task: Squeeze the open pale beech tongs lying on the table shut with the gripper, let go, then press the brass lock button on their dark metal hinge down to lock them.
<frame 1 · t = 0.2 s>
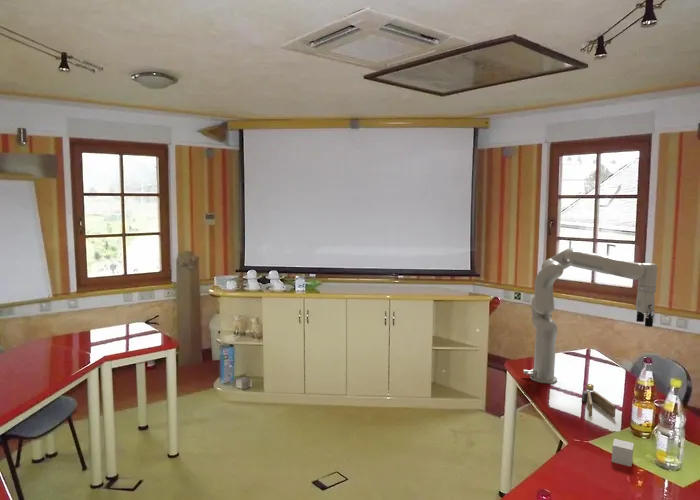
hand: (644, 324, 245), 31 cm above the table, tool pointing down, fingers open, 9 cm apart
grey cube: (622, 461, 175), on the table
tong arm 2: (603, 403, 217), point 3 cm above the table, hinge at 12.0°
lock button: (590, 387, 227), point 6 cm above the table, slide at 0.0 cm
tong hinge: (589, 401, 228), on the table
tong arm 1: (589, 402, 218), point 3 cm above the table, hinge at -12.0°
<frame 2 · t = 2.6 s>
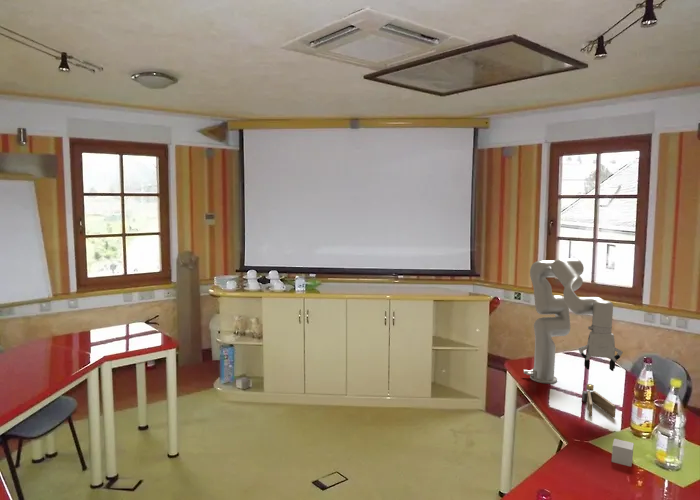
hand: (599, 369, 216), 18 cm above the table, tool pointing down, fingers open, 9 cm apart
nothing on the table moved.
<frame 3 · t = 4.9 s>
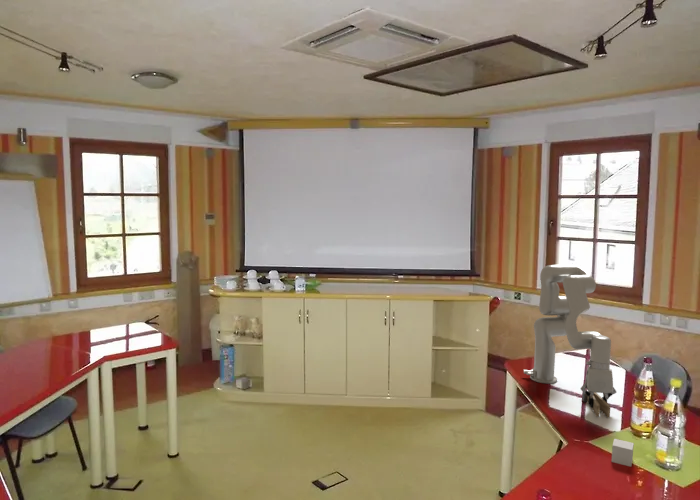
hand: (597, 406, 217), 2 cm above the table, tool pointing down, fingers open, 4 cm apart
tong arm 2: (600, 403, 217), point 3 cm above the table, hinge at 5.0°, touching gripper
tong arm 1: (593, 403, 218), point 3 cm above the table, hinge at -3.2°, touching gripper
everything else where it was.
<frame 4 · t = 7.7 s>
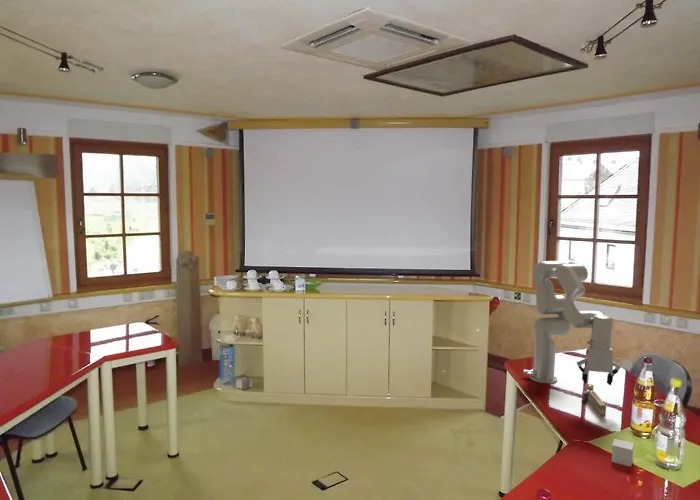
hand: (596, 382, 217), 12 cm above the table, tool pointing down, fingers open, 9 cm apart
tong arm 2: (598, 403, 217), point 3 cm above the table, hinge at -0.4°
tong arm 1: (595, 403, 218), point 3 cm above the table, hinge at 0.9°
everything else where it was.
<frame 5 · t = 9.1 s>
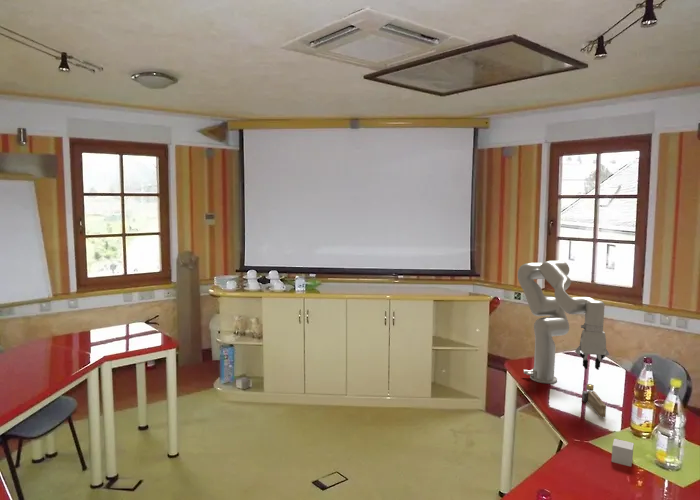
hand: (591, 368, 226), 15 cm above the table, tool pointing down, fingers open, 4 cm apart
nothing on the table moved.
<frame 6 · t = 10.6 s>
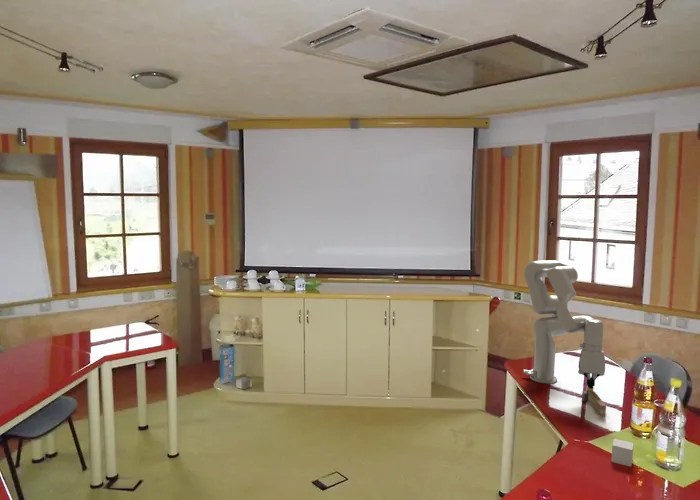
hand: (590, 387, 227), 6 cm above the table, tool pointing down, fingers closed
lock button: (589, 389, 227), point 5 cm above the table, slide at 0.9 cm, touching gripper
everything else where it was.
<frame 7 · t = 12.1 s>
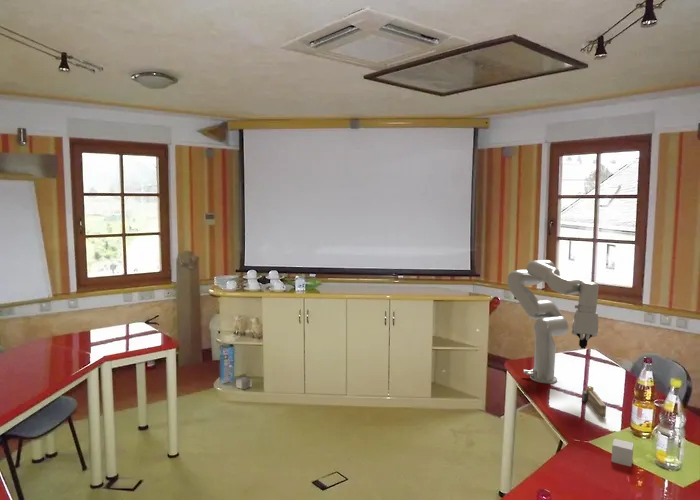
hand: (582, 347, 233), 23 cm above the table, tool pointing down, fingers closed
lock button: (589, 389, 227), point 5 cm above the table, slide at 1.0 cm, touching tong hinge
everything else where it was.
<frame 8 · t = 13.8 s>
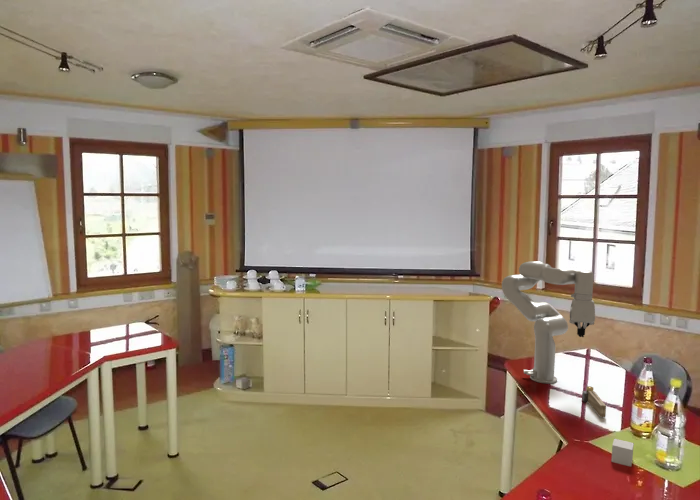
hand: (580, 336, 235), 27 cm above the table, tool pointing down, fingers closed
nothing on the table moved.
at the end: tong arm 1 at +1° (first picture: -12°); tong arm 2 at +0° (first picture: +12°); lock button slide at 1.0 cm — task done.
